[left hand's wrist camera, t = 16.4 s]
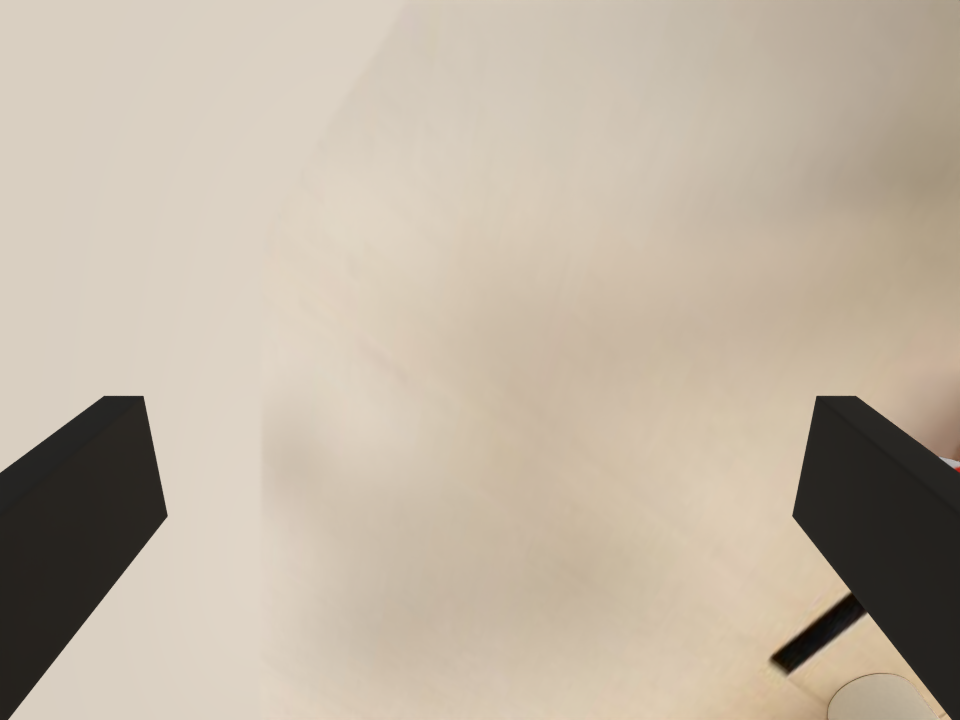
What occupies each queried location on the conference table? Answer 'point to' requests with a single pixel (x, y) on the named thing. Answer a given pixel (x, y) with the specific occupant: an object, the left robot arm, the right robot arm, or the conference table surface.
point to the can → (880, 700)
